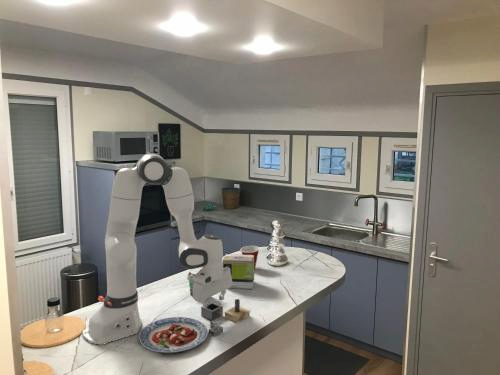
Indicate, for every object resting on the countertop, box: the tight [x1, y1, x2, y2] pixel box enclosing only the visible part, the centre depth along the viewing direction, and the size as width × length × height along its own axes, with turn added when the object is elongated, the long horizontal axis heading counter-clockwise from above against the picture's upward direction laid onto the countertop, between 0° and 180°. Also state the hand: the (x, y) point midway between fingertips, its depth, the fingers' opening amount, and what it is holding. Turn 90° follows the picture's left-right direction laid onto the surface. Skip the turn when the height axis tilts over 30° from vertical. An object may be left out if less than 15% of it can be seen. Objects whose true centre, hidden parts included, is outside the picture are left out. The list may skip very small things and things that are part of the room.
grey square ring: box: [200, 301, 224, 321], centre depth 172 cm, size 6×6×4 cm
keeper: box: [224, 298, 251, 324], centre depth 171 cm, size 8×7×8 cm
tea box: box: [222, 253, 255, 290], centre depth 204 cm, size 15×10×15 cm, turn 84°
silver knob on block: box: [208, 319, 224, 338], centre depth 158 cm, size 5×3×5 cm, turn 139°
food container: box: [186, 271, 195, 298], centre depth 191 cm, size 12×6×10 cm, turn 62°
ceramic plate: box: [138, 316, 209, 354], centre depth 155 cm, size 26×26×3 cm
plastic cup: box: [239, 245, 260, 270], centre depth 227 cm, size 11×11×12 cm
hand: (213, 303), depth 172 cm, fingers open, 8 cm apart
